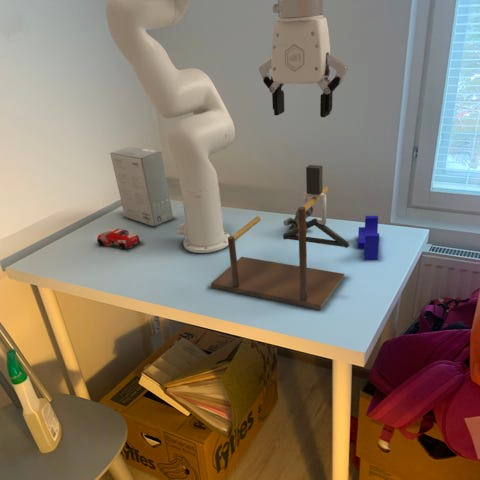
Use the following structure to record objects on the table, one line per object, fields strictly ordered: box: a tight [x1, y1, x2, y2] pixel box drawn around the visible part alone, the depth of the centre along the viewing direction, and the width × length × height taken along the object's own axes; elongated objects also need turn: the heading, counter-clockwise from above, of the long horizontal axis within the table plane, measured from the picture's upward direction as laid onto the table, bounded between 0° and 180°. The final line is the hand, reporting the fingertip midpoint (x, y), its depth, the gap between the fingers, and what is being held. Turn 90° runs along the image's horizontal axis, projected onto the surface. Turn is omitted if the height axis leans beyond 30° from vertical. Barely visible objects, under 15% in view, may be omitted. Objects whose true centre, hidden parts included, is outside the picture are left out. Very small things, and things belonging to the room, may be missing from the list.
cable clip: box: [357, 215, 380, 261], centre depth 117 cm, size 12×4×6 cm, turn 168°
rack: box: [210, 186, 345, 311], centre depth 103 cm, size 26×14×21 cm, turn 60°
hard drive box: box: [109, 146, 174, 227], centre depth 145 cm, size 16×8×20 cm, turn 46°
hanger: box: [282, 164, 351, 249], centre depth 95 cm, size 14×2×15 cm, turn 60°
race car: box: [96, 228, 141, 250], centre depth 134 cm, size 13×5×4 cm, turn 60°
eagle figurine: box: [283, 206, 314, 235], centre depth 130 cm, size 8×7×9 cm
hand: (301, 114), depth 94 cm, fingers open, 9 cm apart
